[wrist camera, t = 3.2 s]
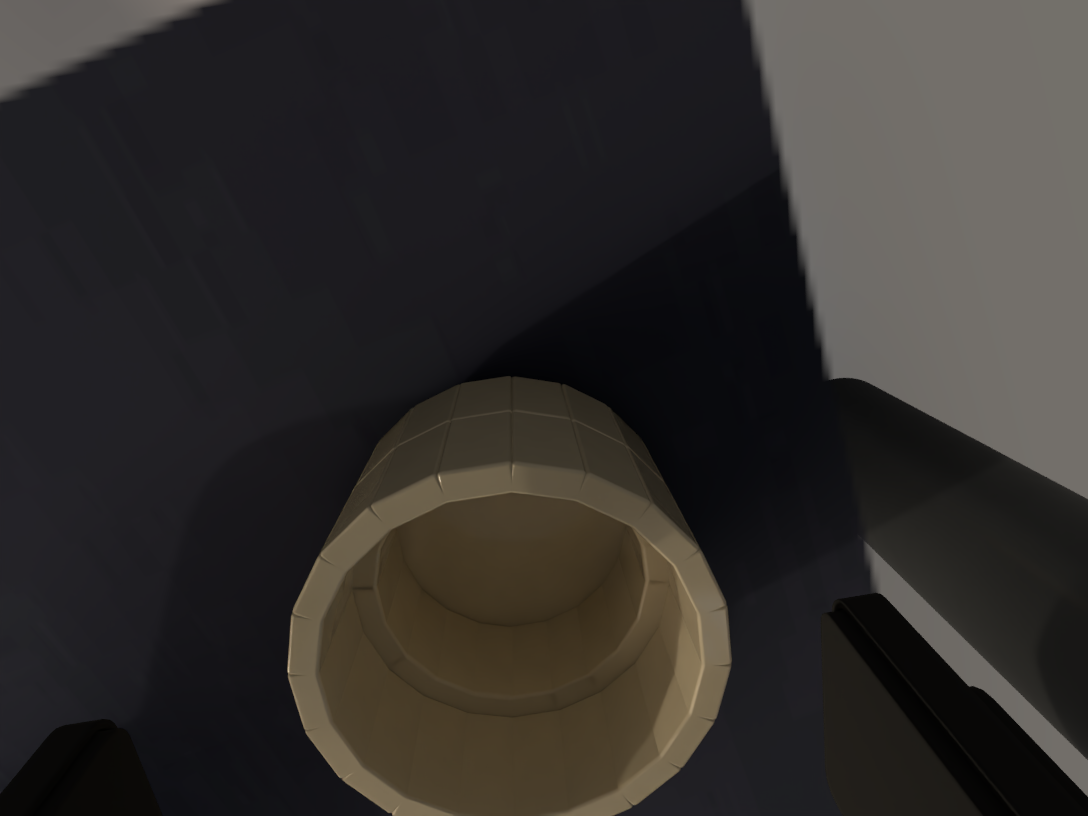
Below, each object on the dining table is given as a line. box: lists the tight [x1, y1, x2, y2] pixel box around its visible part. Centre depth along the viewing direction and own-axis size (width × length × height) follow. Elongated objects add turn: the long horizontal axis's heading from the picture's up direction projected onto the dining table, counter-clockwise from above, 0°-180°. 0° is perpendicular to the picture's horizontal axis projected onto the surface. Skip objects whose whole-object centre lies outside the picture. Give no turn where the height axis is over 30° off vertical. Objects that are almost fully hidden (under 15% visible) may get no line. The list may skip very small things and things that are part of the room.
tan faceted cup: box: [287, 376, 732, 816], centre depth 14 cm, size 7×7×6 cm
